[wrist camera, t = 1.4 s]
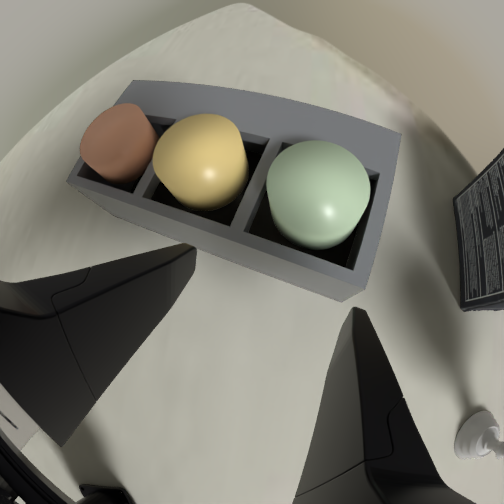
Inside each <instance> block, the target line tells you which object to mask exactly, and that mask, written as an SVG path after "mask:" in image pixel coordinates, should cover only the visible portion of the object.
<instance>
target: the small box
mask: <svg viewBox="0 0 504 504" xmlns="http://www.w3.org/2000/svg"><path fill="white" fill-rule="evenodd" d="M453 204H454V211H455V218H456V226H457V235H458V246H459V260H460V283H461V309H462V310H463V311H464V312H466V311H471V310H473V311H476V310H478V311H480V310H494V311H498V310H504V148H503V150H502V151H501V152H500V154H498V155H497V157H496V158H495V159H493V161H492V162H491V163H490V164H489V165H488V166H487V167H486V168H485V169H484V170H483V171H482V172H481V173H480V174H479V175H478V176H477V177H476V178H475V179H474V180H472V182H471V183H469V184H468V185H467V186H466V187H465V188H464V189H463V190H462V191H461V192H460V193H459V194H458V195H456V196H455V197H454V198H453Z"/></svg>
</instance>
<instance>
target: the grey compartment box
mask: <svg viewBox="0 0 504 504" xmlns="http://www.w3.org/2000/svg"><path fill="white" fill-rule="evenodd" d="M124 103H131V104H135V105H137V106H138V107H140V109H141V110H142V112H143V113H144V115H145V116H146V118H147V119H148V121H149V122H150V124H151V125H152V127H153V128H154V130H155V131H156V133H157V134H158V136H159V139H160V138H161V136H162V135H163V133H165V132H166V131H167V130H168V129H169V128H170V127H171V126H173V125H174V124H175V123H177V122H179V121H181V120H182V119H185V118H187V117H190V116H193V115H198V114H216V115H220V116H223V117H225V118H227V119H229V120H230V121H231V122H233V123H234V124H235V126H236V127H237V128H238V130H239V132H240V135H241V139H242V142H243V146H244V150H247V151H251V152H255V153H259V154H262V157H261V159H260V161H259V164H258V166H257V168H256V170H255V172H254V174H253V177H252V179H251V181H250V183H249V185H248V188H247V190H246V192H245V194H244V196H243V199H242V201H241V203H240V205H239V208H238V210H237V212H236V214H235V216H234V219H233V221H232V223H231V226H230V227H229V226H226V225H223V224H221V223H218V222H215V221H212V220H209V219H206V218H203V217H200V216H197V215H194V214H191V213H188V212H185V211H182V210H179V209H176V208H174V207H171V206H168V205H165V204H162V203H159V202H156V201H153V200H151V198H152V196H153V194H154V192H155V190H156V188H157V186H158V184H159V183H160V181H161V180H160V179H159V178H158V177H157V175H156V173H155V171H154V168H153V158H152V160H151V162H150V164H149V165H148V167H147V169H146V171H145V172H144V174H143V176H142V178H141V180H140V182H139V183H138V185H137V187H136V189H135V191H134V193H133V194H131V193H130V191H131V189H132V187H133V185H134V183H135V181H136V180H134V181H132V182H129V183H126V184H121V185H116V184H112V183H109V182H108V181H106V180H105V179H104V178H103V177H102V176H101V175H100V174H98V173H97V172H96V171H95V170H94V169H93V168H92V167H90V166H89V165H88V164H87V163H86V162H85V161H84V160H83V159H82V157H81V156H80V158H79V159H78V161H77V163H76V164H75V166H74V168H73V170H72V171H71V173H70V175H69V177H68V179H67V181H66V182H67V183H69V184H70V185H71V186H73V187H74V188H75V189H77V190H78V191H80V192H81V193H82V194H84V195H85V196H86V197H88V198H89V199H91V200H92V201H93V202H95V203H96V204H98V205H99V206H101V207H102V208H103V209H105V210H106V211H108V212H109V213H110V214H112V215H114V216H116V217H119V218H121V219H124V220H126V221H129V222H131V223H134V224H136V225H139V226H141V227H144V228H146V229H149V230H151V231H154V232H156V233H159V234H161V235H164V236H167V237H169V238H172V239H174V240H177V241H179V242H182V243H187V244H190V245H192V246H195V247H196V248H197V249H200V250H203V251H205V252H208V253H210V254H213V255H216V256H218V257H221V258H223V259H226V260H229V261H231V262H234V263H237V264H239V265H242V266H245V267H247V268H250V269H252V270H255V271H258V272H260V273H263V274H266V275H268V276H271V277H274V278H276V279H279V280H282V281H285V282H287V283H290V284H293V285H295V286H298V287H301V288H303V289H306V290H309V291H312V292H314V293H317V294H320V295H323V296H325V297H328V298H331V299H334V300H336V301H339V302H343V301H345V300H347V299H348V298H350V297H352V296H354V295H356V294H357V293H359V292H361V291H363V290H365V288H366V285H367V282H368V278H369V275H370V272H371V268H372V265H373V262H374V258H375V255H376V251H377V247H378V244H379V240H380V236H381V232H382V228H383V224H384V220H385V216H386V212H387V208H388V203H389V199H390V194H391V189H392V184H393V180H394V174H395V169H396V164H397V158H398V152H399V146H400V140H401V134H400V133H398V132H395V131H392V130H390V129H387V128H384V127H382V126H379V125H376V124H373V123H370V122H367V121H365V120H362V119H358V118H355V117H352V116H349V115H346V114H343V113H339V112H336V111H333V110H329V109H325V108H322V107H318V106H314V105H311V104H307V103H303V102H299V101H294V100H290V99H286V98H281V97H276V96H271V95H267V94H261V93H256V92H250V91H245V90H238V89H232V88H225V87H218V86H210V85H201V84H192V83H180V82H166V81H145V80H133V81H132V82H131V83H130V85H129V86H128V87H127V88H126V90H125V91H124V92H123V94H122V95H121V96H120V98H119V99H118V100H117V102H116V103H115V104H114V106H116V105H119V104H124ZM312 140H317V141H327V142H330V143H334V144H337V145H339V146H341V147H343V148H345V149H346V150H348V151H349V152H351V153H352V154H353V155H354V156H355V157H356V158H357V159H358V160H359V161H360V162H361V164H362V165H363V167H364V168H365V170H366V172H367V175H368V178H369V182H370V197H369V202H368V204H367V207H366V209H365V211H364V212H363V214H362V216H361V218H360V221H359V224H358V227H357V231H356V234H355V238H354V241H353V244H352V247H351V251H350V254H349V257H348V260H347V263H346V266H345V268H344V267H342V266H339V265H336V264H333V263H331V262H328V261H325V260H322V259H320V258H317V257H314V256H311V255H309V254H306V253H303V252H300V251H297V250H295V249H292V248H289V247H286V246H283V245H281V244H278V243H275V242H272V241H269V240H266V239H264V238H261V237H258V236H255V235H252V234H249V233H248V231H249V229H250V227H251V224H252V222H253V220H254V217H255V215H256V212H257V210H258V208H259V205H260V203H261V201H262V198H263V196H264V194H265V191H266V189H267V185H266V184H267V175H268V171H269V168H270V166H271V164H272V162H273V161H274V160H275V158H276V157H277V156H278V155H279V154H280V153H281V152H282V151H284V150H285V149H287V148H288V147H290V146H292V145H294V144H297V143H300V142H304V141H312Z"/></svg>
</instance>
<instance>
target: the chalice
mask: <svg viewBox="0 0 504 504" xmlns="http://www.w3.org/2000/svg"><path fill="white" fill-rule="evenodd" d="M499 434H500V428H499V425H498V423H497V422H496V420H495V419H494V416H493V415H492V413H491V412H489V411H486V410H485V411H479V412H477V413H475V414H474V415H472V416H471V417H470V418H469V419H468V420H467V421H466V422H465V423H464V424H463V426H462V427H461V429H460V431H459V432H458V434H457V437H456V440H455V445H454V450H455V454H456V456H457V457H459V458H460V459H474V458H475V459H478V458H482V457H484V456H485V455H487V454H489V453H490V452H491V451H492V450H493V451H494V452H495V453H496V458H497V459H501V458H503V457H504V442H499V440H498V439H499Z"/></svg>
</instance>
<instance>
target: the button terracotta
mask: <svg viewBox="0 0 504 504" xmlns="http://www.w3.org/2000/svg"><path fill="white" fill-rule="evenodd" d="M158 141H159V136H158V134H157V133H156V131H155V130H154V128H153V127H152V125H151V124H150V122H149V121H148V119H147V118H146V116H145V115H144V113H143V112H142V110H141V109H140V107H138V106H137V105H135V104H131V103H124V104H119V105H116V106H113V107H111V108H109V109H107V110H106V111H104V112H103V113H102V114H100V115H99V116H98V117H97V118H96V119H95V120H94V121H93V122H92V123H91V124H90V125H89V127H88V128H87V130H86V132H85V133H84V135H83V138H82V140H81V144H80V154H81V157H82V159H83V160H84V161H85V162H86V163H87V164H88V165H89V166H90V167H92V168H93V169H94V170H95V171H96V172H97V173H98V174H100V175H101V176H102V177H103V178H104V179H105V180H106V181H108V182H109V183H112V184H116V185H121V184H126V183H129V182H132V181H134V180H136V179H137V178H139V177H140V176H142V175H143V174H144V172H145V171H146V169H147V167H148V165H149V164H150V162H151V160H152V158H153V153H154V149H155V147H156V145H157V143H158Z"/></svg>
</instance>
